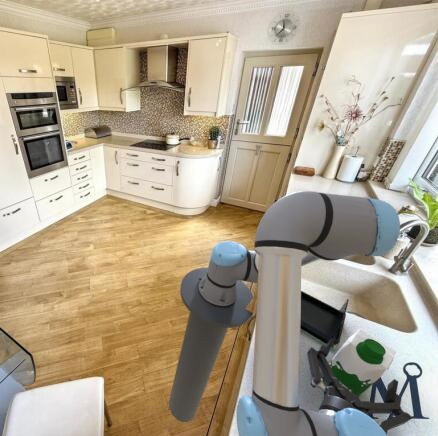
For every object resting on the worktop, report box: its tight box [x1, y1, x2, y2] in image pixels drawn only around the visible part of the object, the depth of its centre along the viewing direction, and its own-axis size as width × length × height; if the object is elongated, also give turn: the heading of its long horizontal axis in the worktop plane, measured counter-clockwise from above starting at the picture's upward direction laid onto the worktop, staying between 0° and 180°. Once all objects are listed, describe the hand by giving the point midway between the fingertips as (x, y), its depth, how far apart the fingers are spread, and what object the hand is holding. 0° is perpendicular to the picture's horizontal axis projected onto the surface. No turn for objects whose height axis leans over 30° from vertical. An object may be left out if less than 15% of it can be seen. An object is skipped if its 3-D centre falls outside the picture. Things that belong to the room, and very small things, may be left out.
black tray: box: [300, 290, 349, 352], centre depth 84 cm, size 18×16×11 cm
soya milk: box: [321, 328, 397, 397], centre depth 63 cm, size 9×9×20 cm
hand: (359, 361), depth 63 cm, fingers open, 13 cm apart
